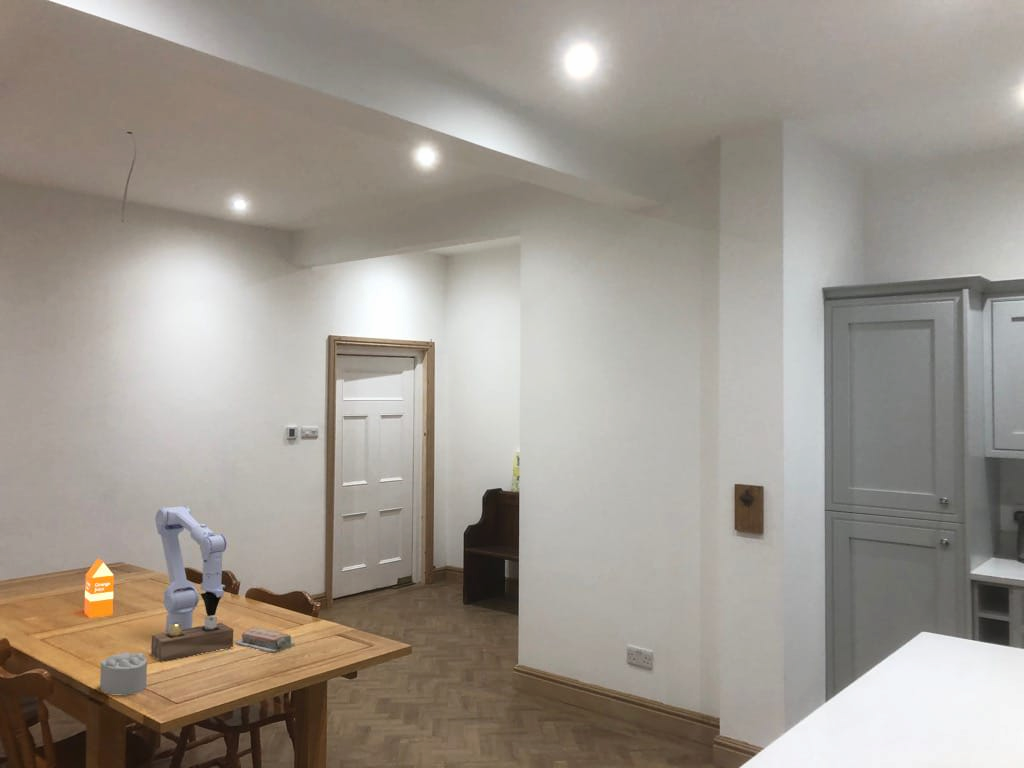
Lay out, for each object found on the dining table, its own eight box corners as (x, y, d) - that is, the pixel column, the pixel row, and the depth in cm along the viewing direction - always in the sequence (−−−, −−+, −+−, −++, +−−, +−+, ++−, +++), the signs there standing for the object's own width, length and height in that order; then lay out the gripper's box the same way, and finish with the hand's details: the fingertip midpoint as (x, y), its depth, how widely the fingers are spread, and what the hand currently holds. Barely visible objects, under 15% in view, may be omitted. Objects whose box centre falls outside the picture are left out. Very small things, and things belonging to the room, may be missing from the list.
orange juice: (89, 618, 280) (91, 563, 281) (83, 613, 287) (85, 559, 287) (113, 614, 285) (115, 560, 286) (106, 609, 292) (108, 556, 293)
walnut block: (151, 654, 241) (151, 634, 241) (220, 640, 256) (221, 622, 256) (161, 662, 233) (162, 642, 234) (232, 648, 248) (233, 629, 248)
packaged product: (296, 632, 252) (273, 639, 244) (296, 647, 252) (272, 655, 243) (257, 623, 261) (234, 630, 252) (257, 638, 261) (233, 645, 252)
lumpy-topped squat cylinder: (133, 677, 220) (135, 647, 220) (154, 688, 211) (155, 657, 212) (95, 687, 212) (96, 655, 212) (115, 699, 204) (116, 666, 204)
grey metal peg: (202, 635, 248) (203, 617, 249) (213, 633, 251) (214, 615, 251) (206, 638, 246) (207, 620, 246) (218, 636, 248) (218, 618, 248)
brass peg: (167, 642, 241) (167, 623, 241) (179, 640, 243) (179, 621, 244) (171, 645, 238) (171, 626, 239) (183, 642, 241) (183, 624, 241)
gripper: (233, 575, 246) (232, 617, 246) (216, 567, 257) (214, 608, 257) (211, 578, 242) (210, 621, 241) (194, 570, 252) (193, 612, 252)
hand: (211, 615), depth 249 cm, fingers closed
